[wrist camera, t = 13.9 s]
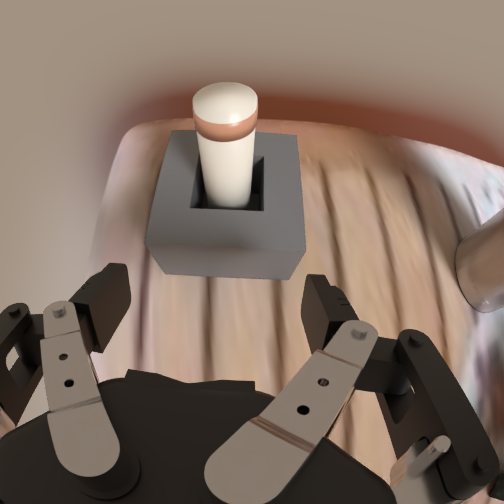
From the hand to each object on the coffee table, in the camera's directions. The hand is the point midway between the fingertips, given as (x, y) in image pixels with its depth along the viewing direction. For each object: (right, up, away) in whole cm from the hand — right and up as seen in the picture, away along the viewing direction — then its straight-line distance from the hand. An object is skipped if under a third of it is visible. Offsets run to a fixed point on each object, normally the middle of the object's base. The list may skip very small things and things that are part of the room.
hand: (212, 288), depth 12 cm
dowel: (0, +4, +11) cm, 12 cm away
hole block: (0, +4, +12) cm, 13 cm away
